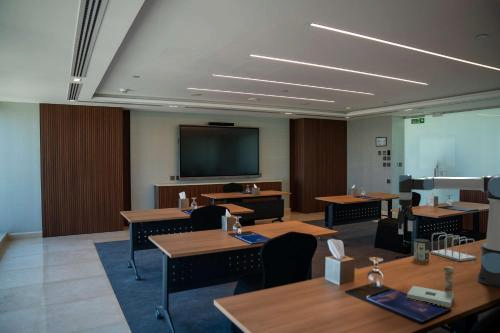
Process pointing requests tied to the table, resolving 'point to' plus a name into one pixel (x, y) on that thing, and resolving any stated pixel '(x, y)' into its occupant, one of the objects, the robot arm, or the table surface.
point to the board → (431, 296)
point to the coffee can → (421, 249)
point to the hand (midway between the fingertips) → (405, 232)
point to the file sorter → (452, 254)
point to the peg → (448, 278)
